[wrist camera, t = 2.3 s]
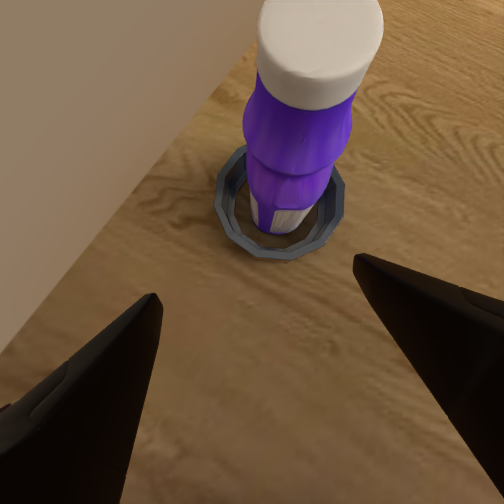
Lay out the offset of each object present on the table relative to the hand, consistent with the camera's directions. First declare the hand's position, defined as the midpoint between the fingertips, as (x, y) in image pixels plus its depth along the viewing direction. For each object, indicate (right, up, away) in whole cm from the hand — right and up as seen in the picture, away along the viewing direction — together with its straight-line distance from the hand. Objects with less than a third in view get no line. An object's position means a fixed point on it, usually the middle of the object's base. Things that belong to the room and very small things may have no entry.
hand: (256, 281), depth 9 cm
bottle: (+3, +6, +15) cm, 16 cm away
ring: (+3, +6, +14) cm, 16 cm away
